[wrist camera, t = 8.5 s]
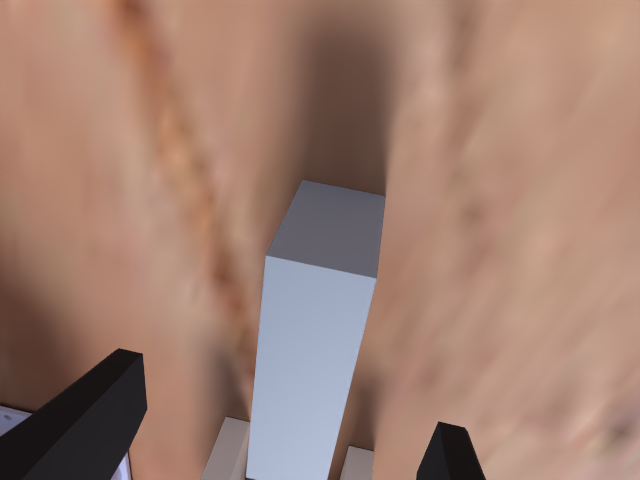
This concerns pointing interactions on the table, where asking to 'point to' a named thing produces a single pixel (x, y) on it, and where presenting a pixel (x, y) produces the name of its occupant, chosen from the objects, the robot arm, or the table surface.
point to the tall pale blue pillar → (311, 328)
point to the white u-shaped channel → (231, 454)
